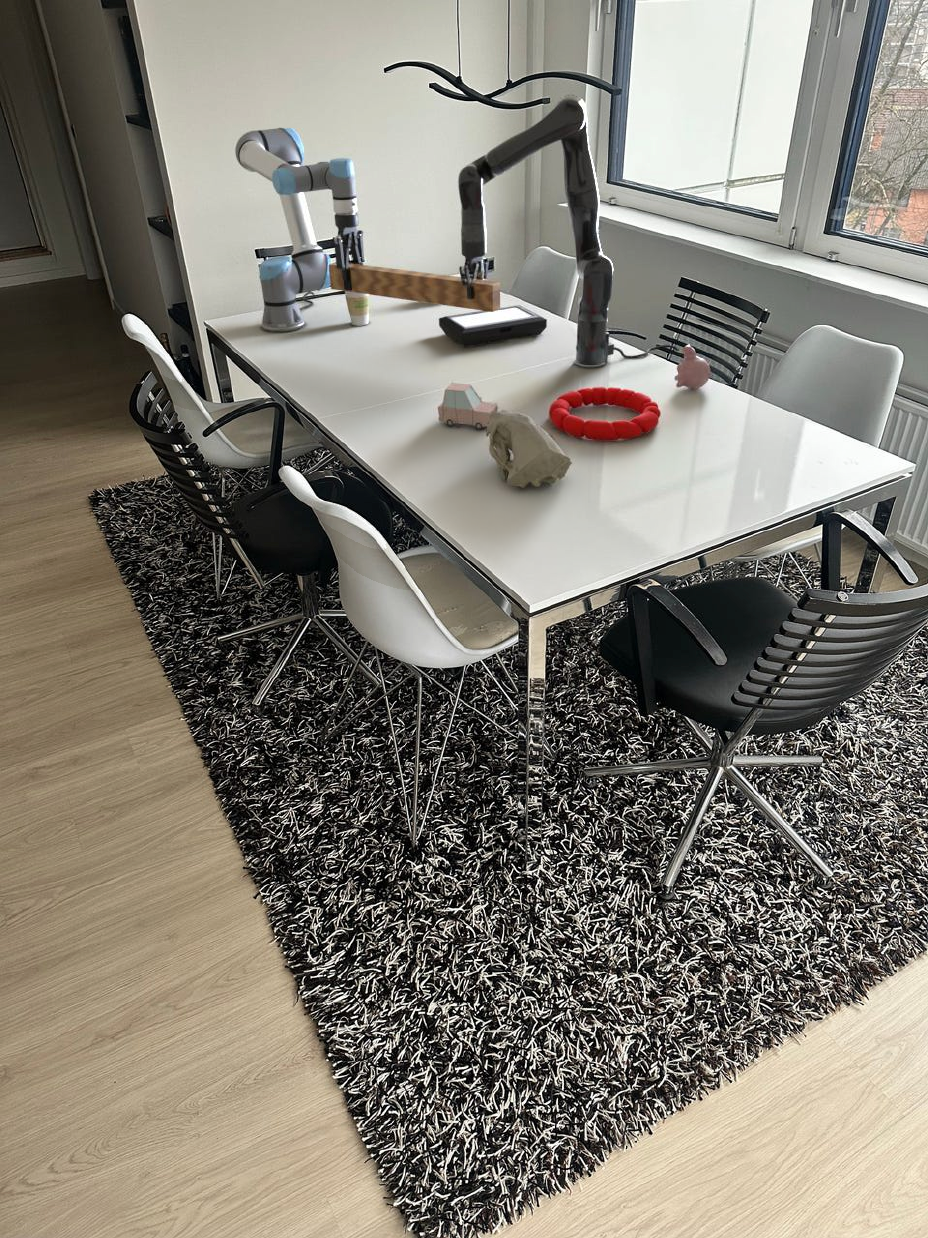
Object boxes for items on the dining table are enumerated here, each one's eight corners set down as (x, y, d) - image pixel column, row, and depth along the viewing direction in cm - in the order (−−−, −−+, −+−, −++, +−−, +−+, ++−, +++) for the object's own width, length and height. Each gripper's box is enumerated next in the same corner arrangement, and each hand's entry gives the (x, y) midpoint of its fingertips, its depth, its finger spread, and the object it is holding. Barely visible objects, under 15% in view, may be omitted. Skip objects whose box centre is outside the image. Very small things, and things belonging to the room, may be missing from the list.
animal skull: (496, 517, 219) (521, 479, 201) (463, 429, 225) (484, 384, 207) (557, 503, 225) (586, 465, 206) (523, 417, 231) (549, 373, 212)
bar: (331, 288, 301) (328, 264, 297) (339, 285, 304) (336, 261, 300) (492, 312, 273) (492, 285, 268) (500, 308, 276) (500, 281, 271)
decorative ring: (589, 435, 224) (684, 402, 234) (527, 398, 247) (617, 369, 256) (589, 461, 229) (683, 427, 238) (529, 422, 251) (617, 393, 260)
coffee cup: (372, 326, 323) (368, 283, 314) (345, 327, 323) (340, 284, 315) (374, 318, 331) (371, 276, 322) (348, 319, 331) (344, 277, 323)
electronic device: (462, 330, 295) (438, 315, 310) (462, 349, 298) (439, 333, 313) (546, 317, 305) (520, 303, 320) (546, 335, 309) (520, 320, 324)
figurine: (665, 387, 264) (669, 347, 257) (693, 380, 268) (698, 340, 261) (686, 396, 257) (690, 355, 250) (714, 388, 262) (720, 348, 255)
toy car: (488, 432, 240) (488, 396, 234) (436, 426, 244) (434, 390, 239) (499, 419, 247) (499, 384, 241) (448, 413, 252) (447, 379, 246)
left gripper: (338, 218, 278) (345, 295, 291) (371, 208, 290) (377, 282, 303) (319, 216, 281) (327, 292, 295) (353, 207, 293) (360, 280, 307)
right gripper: (471, 244, 260) (473, 304, 269) (496, 234, 269) (497, 292, 279) (450, 241, 263) (452, 301, 273) (475, 232, 273) (476, 289, 283)
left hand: (353, 287), depth 299 cm, fingers closed on bar, 5 cm apart
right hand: (475, 296), depth 276 cm, fingers closed on bar, 4 cm apart
